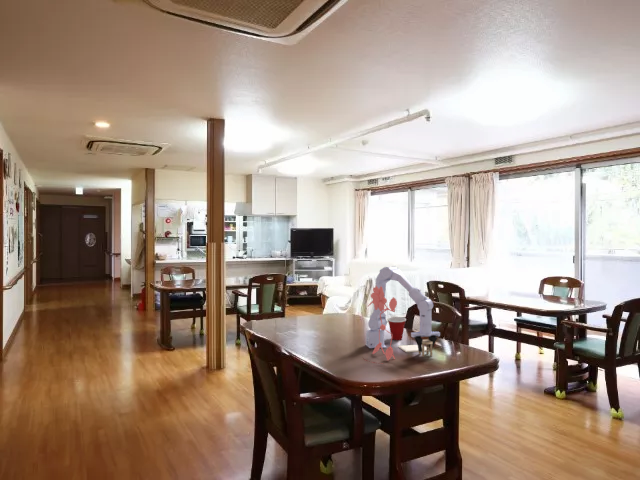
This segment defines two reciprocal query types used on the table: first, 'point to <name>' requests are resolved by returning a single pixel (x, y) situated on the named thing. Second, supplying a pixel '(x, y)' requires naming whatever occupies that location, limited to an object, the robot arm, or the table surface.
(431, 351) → the stool
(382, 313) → the robot arm
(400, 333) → the plastic cup
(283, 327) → the table surface
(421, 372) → the table surface
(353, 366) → the table surface
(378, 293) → the pink flower plant
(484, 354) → the table surface
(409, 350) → the board
